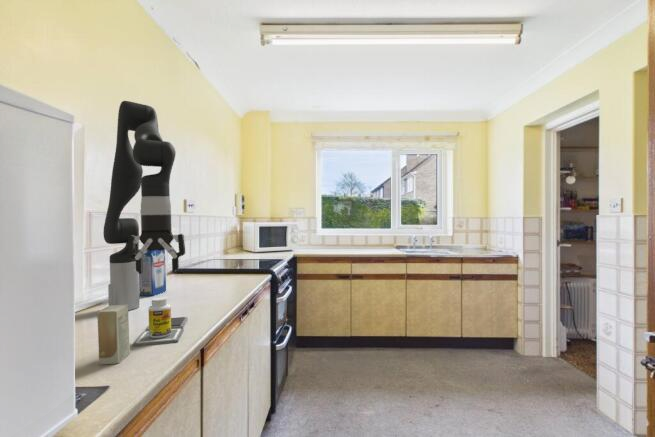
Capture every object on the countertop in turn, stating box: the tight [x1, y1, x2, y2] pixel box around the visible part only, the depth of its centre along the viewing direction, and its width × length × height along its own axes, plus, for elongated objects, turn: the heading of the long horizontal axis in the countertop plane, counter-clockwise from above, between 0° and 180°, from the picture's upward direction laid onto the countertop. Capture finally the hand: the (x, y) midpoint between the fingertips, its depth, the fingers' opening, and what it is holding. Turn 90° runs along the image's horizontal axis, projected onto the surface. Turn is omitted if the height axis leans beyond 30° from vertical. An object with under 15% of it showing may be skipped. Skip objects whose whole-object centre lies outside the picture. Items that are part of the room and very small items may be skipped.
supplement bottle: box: [148, 296, 172, 338], centre depth 102 cm, size 6×6×10 cm
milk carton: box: [138, 248, 167, 297], centre depth 162 cm, size 10×6×20 cm, turn 172°
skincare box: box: [97, 305, 131, 365], centre depth 87 cm, size 6×4×12 cm
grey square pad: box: [131, 328, 185, 347], centre depth 101 cm, size 11×10×1 cm
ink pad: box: [145, 316, 188, 332], centre depth 113 cm, size 10×10×1 cm
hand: (157, 272), depth 102 cm, fingers open, 8 cm apart
